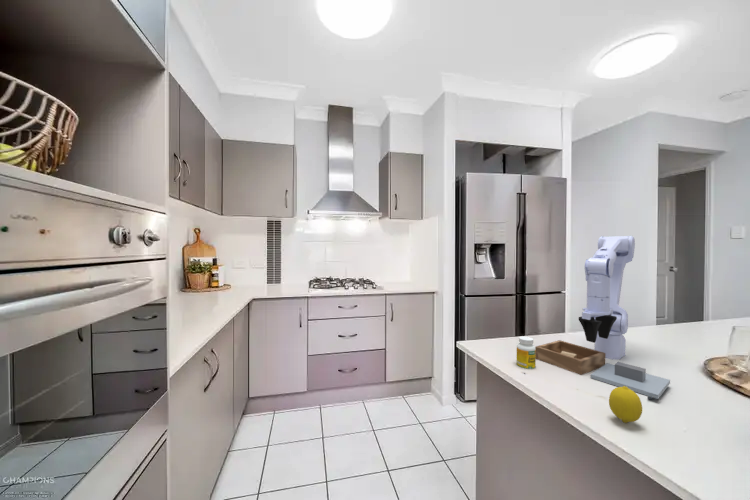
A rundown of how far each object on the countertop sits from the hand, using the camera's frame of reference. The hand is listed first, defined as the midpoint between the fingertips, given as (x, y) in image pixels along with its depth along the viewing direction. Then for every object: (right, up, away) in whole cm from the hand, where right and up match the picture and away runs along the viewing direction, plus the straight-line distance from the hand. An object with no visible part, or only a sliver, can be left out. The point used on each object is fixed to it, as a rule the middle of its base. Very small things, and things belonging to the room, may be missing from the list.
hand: (597, 339), depth 91 cm
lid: (+2, -10, -10) cm, 14 cm away
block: (-6, -8, +5) cm, 11 cm away
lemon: (-15, -10, -27) cm, 33 cm away
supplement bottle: (-22, -10, +1) cm, 24 cm away
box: (-6, -9, +4) cm, 12 cm away
